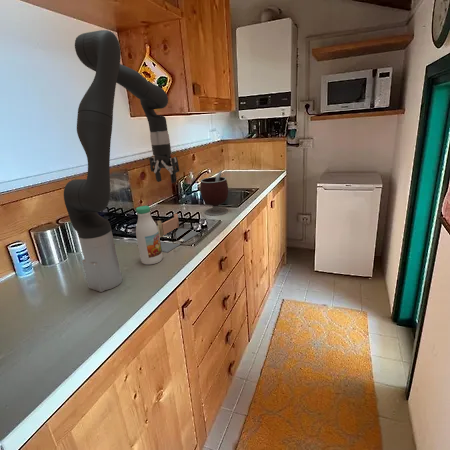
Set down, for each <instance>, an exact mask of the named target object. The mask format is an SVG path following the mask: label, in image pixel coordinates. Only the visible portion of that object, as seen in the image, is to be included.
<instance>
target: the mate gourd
mask: <svg viewBox="0 0 450 450" xmlns="http://www.w3.org/2000/svg"><path fill="white" fill-rule="evenodd" d="M222 172H223V170H220V171H219V172H218V173H217V174H216V176H213V177H211V176H210V177H205V178H203V179H200V194H201V198H202V201H203V202H204V203H205V204H206V205H209V206H213V207H211V208H207V209H206V210H204V215H206V216H209V217H218V216H223V215H226V214H227V213H228V212H229V208H226V207H222V206H221V207H220V205H222V204H224V203H226V202H227V199H228V197H229V196H228V195H229V185H228V181H227V177H224V176H221V175H222Z"/></svg>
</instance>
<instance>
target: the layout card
mask: <svg viewBox="0 0 450 450" xmlns="http://www.w3.org/2000/svg"><path fill="white" fill-rule="evenodd" d="M188 230H190V229H189V228H188V229H187V228H183V227H179V228H178V230H177V232H176V236H177V237H179V236H181V235H182V234H184V233H185V232H186V231H188ZM192 230H193V229H192ZM196 231H197V230H195V231H194V230H193V231H190V232H189V233H188V234H187V235H185V236H184V237H183V238H182V239H181V240H180V241H182V242H183V241H184V243H186V242H188V241H189V240H191V239H192V238H194V237H196V236H198V235H199V234H201V233H202V231H201V230H200V232H201V233H200V232H196ZM163 237H167V238H169V237H170V238H171V235H169V236H168V235H167V234H165V235H164V236H163ZM185 241H186V242H185ZM160 243H161V249H162V253H165V254H166V253H167V254H168V253H169V252H171V251H172V250H174V249H176V248H178V247H179V246H181V245H180V244H173V243H164V242H160Z"/></svg>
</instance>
